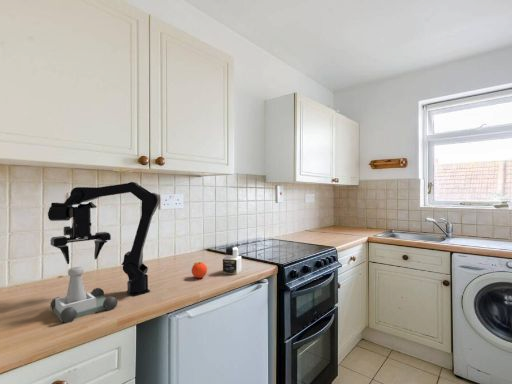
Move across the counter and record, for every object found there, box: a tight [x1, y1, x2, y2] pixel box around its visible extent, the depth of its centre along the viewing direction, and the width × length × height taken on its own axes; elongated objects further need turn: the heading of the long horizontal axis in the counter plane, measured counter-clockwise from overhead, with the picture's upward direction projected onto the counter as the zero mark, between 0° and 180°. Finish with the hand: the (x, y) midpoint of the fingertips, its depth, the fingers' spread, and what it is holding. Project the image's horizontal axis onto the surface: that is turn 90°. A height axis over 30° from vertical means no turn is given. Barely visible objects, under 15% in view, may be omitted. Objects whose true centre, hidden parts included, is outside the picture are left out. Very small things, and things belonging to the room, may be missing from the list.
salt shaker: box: [66, 266, 87, 304], centre depth 93 cm, size 6×6×13 cm
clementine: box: [191, 261, 208, 279], centre depth 129 cm, size 8×7×7 cm
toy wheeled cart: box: [49, 287, 118, 323], centre depth 95 cm, size 16×14×4 cm
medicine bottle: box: [222, 246, 243, 275], centre depth 137 cm, size 7×7×12 cm
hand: (82, 261), depth 107 cm, fingers open, 9 cm apart
